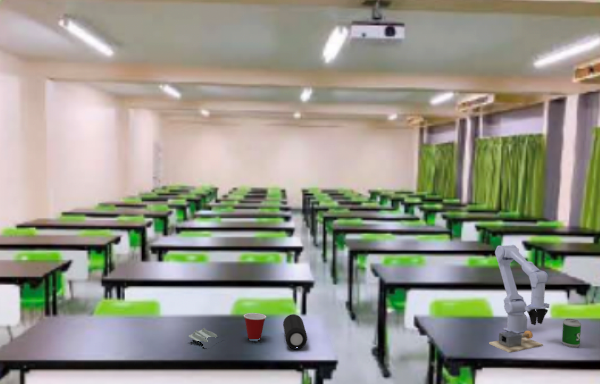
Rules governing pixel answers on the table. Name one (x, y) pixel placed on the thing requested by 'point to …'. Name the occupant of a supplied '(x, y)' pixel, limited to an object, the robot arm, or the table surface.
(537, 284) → the robot arm
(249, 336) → the plastic cup
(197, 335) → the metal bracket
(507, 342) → the bearing stand
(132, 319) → the table surface
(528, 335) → the shaft
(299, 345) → the portable speaker
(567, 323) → the soda can
